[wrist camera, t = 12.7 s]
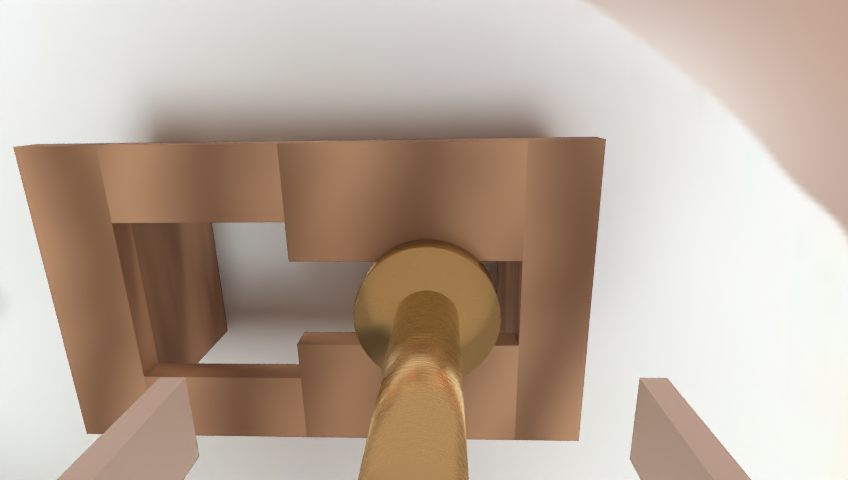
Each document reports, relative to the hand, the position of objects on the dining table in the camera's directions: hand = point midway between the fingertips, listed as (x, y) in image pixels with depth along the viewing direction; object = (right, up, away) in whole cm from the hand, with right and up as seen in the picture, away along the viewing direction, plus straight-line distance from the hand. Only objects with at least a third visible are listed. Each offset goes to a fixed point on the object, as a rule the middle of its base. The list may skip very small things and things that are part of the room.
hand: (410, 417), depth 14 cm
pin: (+1, +4, +12) cm, 12 cm away
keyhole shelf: (-4, +5, +16) cm, 17 cm away
